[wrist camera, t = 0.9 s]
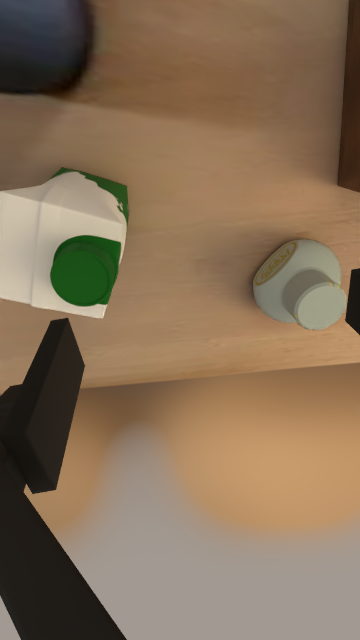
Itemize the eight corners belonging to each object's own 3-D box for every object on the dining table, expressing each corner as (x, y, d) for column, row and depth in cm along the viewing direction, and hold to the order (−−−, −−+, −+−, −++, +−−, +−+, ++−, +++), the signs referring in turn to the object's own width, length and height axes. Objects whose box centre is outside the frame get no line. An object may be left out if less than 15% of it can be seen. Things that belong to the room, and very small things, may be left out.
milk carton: (120, 253, 42) (105, 342, 25) (44, 234, 40) (-31, 316, 23) (136, 179, 38) (132, 224, 21) (52, 154, 36) (-30, 181, 19)
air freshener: (299, 222, 42) (339, 246, 34) (338, 261, 46) (384, 293, 37) (237, 286, 46) (259, 323, 37) (277, 318, 49) (307, 360, 40)
